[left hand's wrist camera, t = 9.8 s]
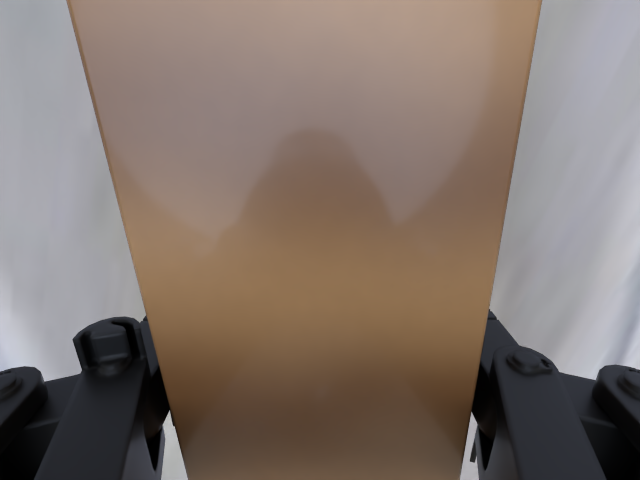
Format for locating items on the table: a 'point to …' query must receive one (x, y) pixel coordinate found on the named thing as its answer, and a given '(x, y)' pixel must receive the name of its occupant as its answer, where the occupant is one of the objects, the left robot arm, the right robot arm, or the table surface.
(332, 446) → the beam
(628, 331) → the table surface
